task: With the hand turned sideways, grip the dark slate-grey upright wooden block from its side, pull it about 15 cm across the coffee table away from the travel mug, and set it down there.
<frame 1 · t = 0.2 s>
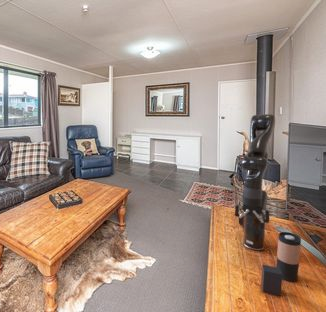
hand: (250, 226, 117), 17 cm above the table, tool pointing down, fingers open, 8 cm apart
travel mug: (286, 276, 105), on the table
slate block: (270, 290, 97), on the table
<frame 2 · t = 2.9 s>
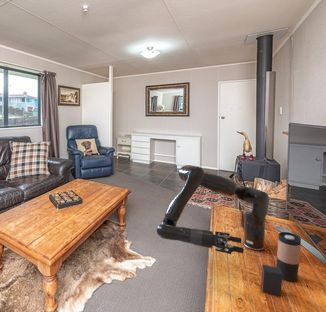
hand: (242, 245, 99), 19 cm above the table, tool horizontal, fingers open, 8 cm apart
nothing on the table moved.
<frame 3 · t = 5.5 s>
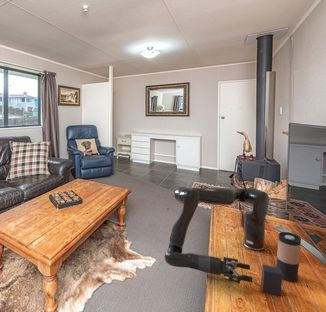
hand: (251, 273, 100), 6 cm above the table, tool horizontal, fingers open, 8 cm apart
nothing on the table moved.
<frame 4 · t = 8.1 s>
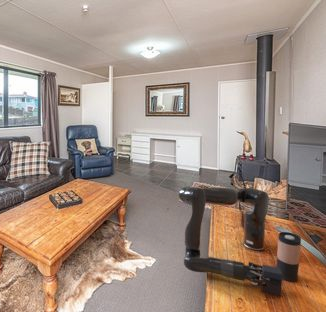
hand: (279, 279, 95), 6 cm above the table, tool horizontal, fingers closed on slate block, 4 cm apart
slate block: (270, 290, 97), on the table, touching gripper
everything else where it was.
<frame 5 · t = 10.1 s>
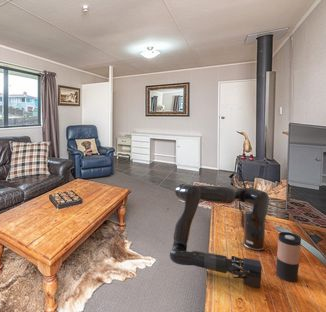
hand: (259, 271, 99), 7 cm above the table, tool horizontal, fingers closed on slate block, 4 cm apart
slate block: (251, 282, 102), point 1 cm above the table, touching gripper
everything else where it was.
when the fingers open (6 cm above the table, at t = 12.5 s): slate block stays where it is, on the table.
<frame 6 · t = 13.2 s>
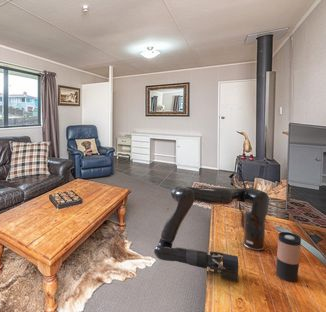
hand: (235, 266, 105), 6 cm above the table, tool horizontal, fingers open, 8 cm apart
slate block: (229, 276, 107), on the table
everything else where it was.
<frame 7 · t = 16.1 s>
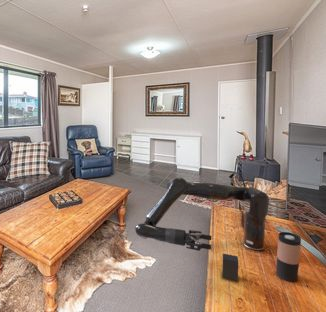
hand: (211, 242, 108), 16 cm above the table, tool horizontal, fingers open, 8 cm apart
nothing on the table moved.
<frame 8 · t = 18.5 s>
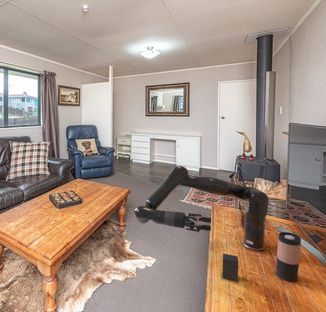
hand: (211, 224, 107), 25 cm above the table, tool horizontal, fingers open, 8 cm apart
nothing on the table moved.
at the end: slate block inside the target area (0.1 cm from its centre), on the table; slate block tilted 0°; the gripper is holding nothing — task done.
